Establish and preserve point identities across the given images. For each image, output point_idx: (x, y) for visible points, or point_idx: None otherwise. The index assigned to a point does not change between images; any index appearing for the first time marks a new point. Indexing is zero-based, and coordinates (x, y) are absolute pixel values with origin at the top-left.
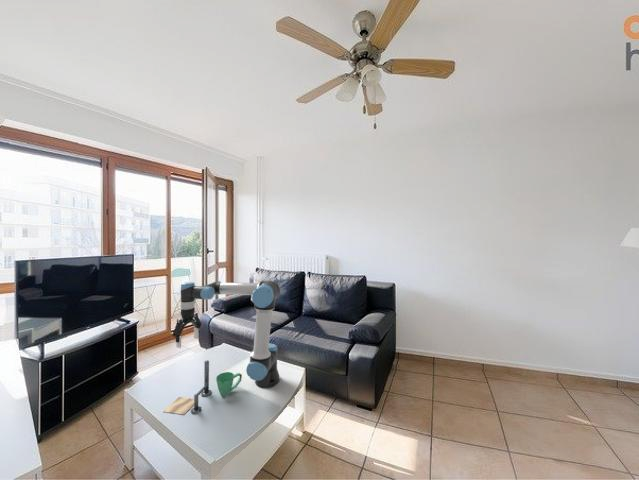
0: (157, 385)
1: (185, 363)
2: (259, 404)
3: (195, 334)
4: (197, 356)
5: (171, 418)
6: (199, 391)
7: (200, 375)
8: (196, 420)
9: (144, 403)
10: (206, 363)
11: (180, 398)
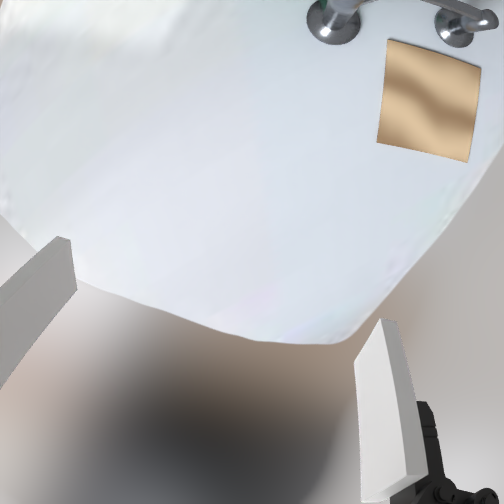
0: (289, 285)
1: (112, 265)
2: None
3: (42, 303)
4: None
5: (496, 112)
6: (464, 8)
7: (177, 138)
8: None
9: (410, 263)
10: None
11: (388, 129)
